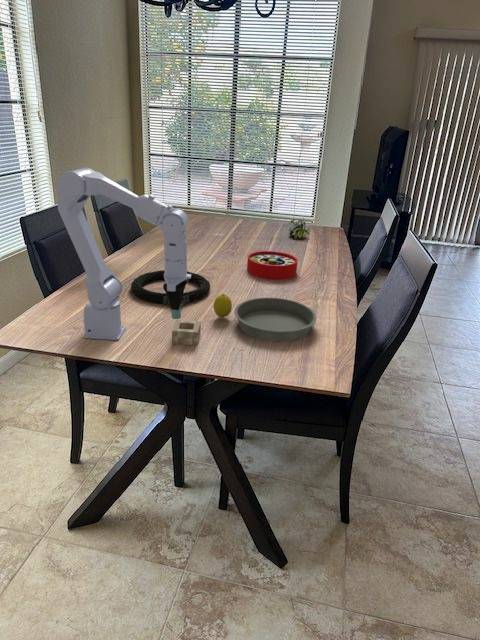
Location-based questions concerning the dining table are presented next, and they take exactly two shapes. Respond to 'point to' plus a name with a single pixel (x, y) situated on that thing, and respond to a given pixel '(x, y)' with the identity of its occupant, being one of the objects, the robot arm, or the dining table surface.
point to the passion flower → (298, 225)
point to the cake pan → (275, 318)
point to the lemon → (222, 305)
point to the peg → (176, 313)
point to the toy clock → (272, 265)
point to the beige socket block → (186, 332)
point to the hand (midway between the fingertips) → (176, 307)
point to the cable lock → (163, 297)
